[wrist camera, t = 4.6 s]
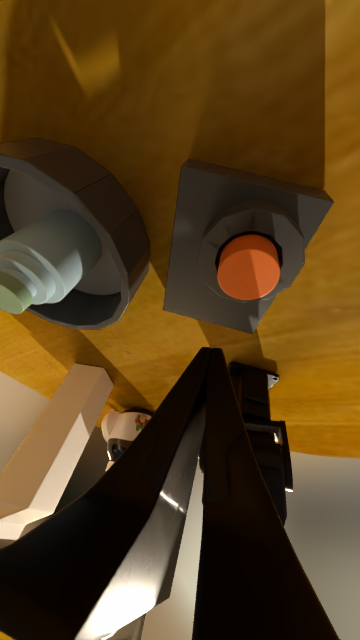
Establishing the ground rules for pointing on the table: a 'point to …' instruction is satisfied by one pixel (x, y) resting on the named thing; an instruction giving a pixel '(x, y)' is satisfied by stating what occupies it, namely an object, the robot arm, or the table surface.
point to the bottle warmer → (91, 204)
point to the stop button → (248, 267)
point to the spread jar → (123, 430)
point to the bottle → (46, 260)
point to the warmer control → (227, 224)
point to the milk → (51, 449)
